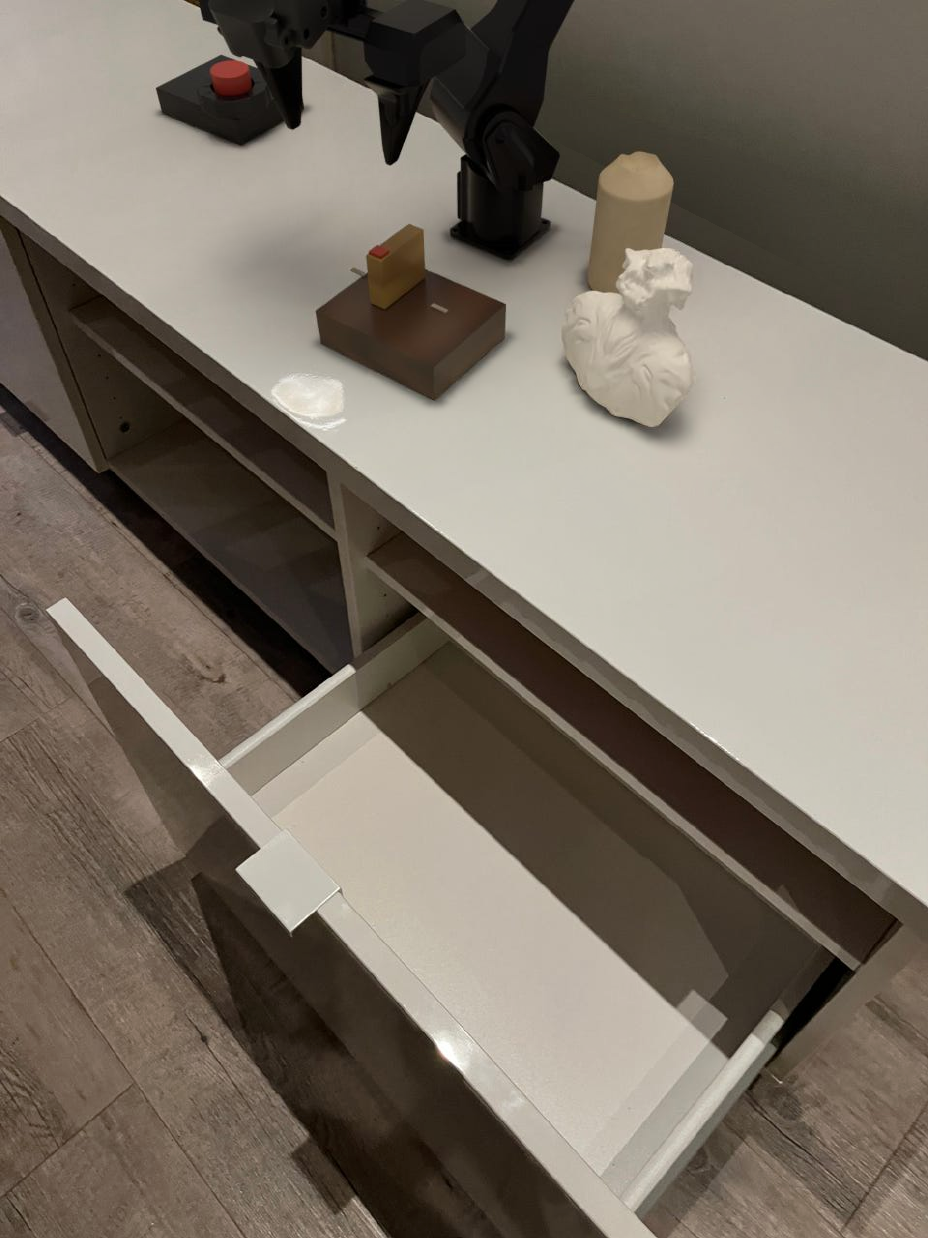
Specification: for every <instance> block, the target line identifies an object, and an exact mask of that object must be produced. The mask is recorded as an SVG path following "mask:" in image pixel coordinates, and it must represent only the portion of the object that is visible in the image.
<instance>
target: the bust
mask: <svg viewBox="0 0 928 1238" xmlns="http://www.w3.org/2000/svg"><path fill="white" fill-rule="evenodd" d="M625 254H626V260H625V262H624V263H623V265H622V268H623V269H626V270H625V272H624V273H622V274H621V275H620V276H619V277H618V280H617V282H616V287H617V289H618V290H619V293H620V294H621V295H622V296H621V295H620V294H617V293H611V292H609V293H602V292H598V291H593V290H588V291H585V292H583V293H580V294H579V295H576V296H575V297H574V298H573V300H572V302H571V306H570V307H569V308H568V309H567V311H566V314H565V323H564V324H563V326H562V329H561V341H562V344H563V352H564V357H565V358H566V359H567V361H568V362H569V364H570V366H571V368H572V369H573V370H574V372H575V373H576V379H577V382H578V384H579V386H580V388H581V389H582V390H583V391H585V392H586V393H587V394H588V396H589V397H590V398H591V399H593V401H595V402H596V404H598V405H600V406H602V407H604V408H605V409H606V410H608V412H609V413H610V414H611V415H612V416H614V417H619V418H625V419H630V420H633V421H634V422H636V423H638V424H641V425H643V426H646V427H649V428H655V427H658V426H659V425H661V423H662V422H663V421H664V420H665V419H666V418H667V417H668V415H670V414H671V413H672V411H673V410H674V409H675V408H676V407H677V406H678V404H679V403H681V402H682V401H683V400H685V399H686V398H687V397H688V395H689V394H690V392H691V390H692V387H693V385H694V384H695V382H696V379H697V378H696V372H695V371H694V369H693V363H692V355H691V353H690V351H689V350H688V348H687V346H686V344H685V342H684V341H683V339H682V338H681V337H679V334H678V332H677V326H676V324H675V323H674V322H673V321H672V319H671V318H670V317H669V315H670V309H671V306H674V307H675V308H676V309H678V310H679V311H683V309H684V308H685V304H686V301H687V299H688V297H689V296H691V295H692V293H693V282H694V264H693V263H692V262H691V261H690V260H689V259H688V258H686V256H685V255H684V254H681V252H680V250H679V249H678V250H676V249H675V248H670V247H662V248H660V249H654V250H641V251H634V250H632V249H630V248H627V249H626V250H625Z"/></svg>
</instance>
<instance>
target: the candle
mask: <svg viewBox="0 0 928 1238" xmlns="http://www.w3.org/2000/svg"><path fill="white" fill-rule="evenodd" d="M674 183H675V182H674V179H673V176H672V174H671V173H670V172H669V171H668V169H667V168H666V167H665V166H664V164H663V163H662V162H661V160H660V159H659V157H658V156H657V155H656V154H654V153H649V152H645V151H635V152H634V151H633V153H631V154H626V153H625V154H624V153H621V154H619V156H617V158H616V159H614V160H613V161H612V162H611V163H610V164H609V165H607V166H606V167H605V168H604V169H603V170H602V171H601V172H600V174H599V176H598V183H597V192H596V202H595V208H594V209H595V210H594V216H593V217H594V218H593V226H592V233H591V240H590V241H591V242H590V250H589V258H588V269H587V283H588V285H589V287H590V289H591V291H598V292H602V293H609V292H611V293H617V294H620V293H619V290H618V289H617V287H616V282H617V280H618V277H619V276H620V275H621V274H622V273H624V272H625V270H626V269H623V268H622V265H623V263H624V262H625V260H626V254H625V250H626V249H627V248H630V249H632V250H634V251H641V250H654V249H660V248H663V243H664V239H665V234H666V233H665V232H666V227H667V223H668V222H667V221H668V218H669V217H668V216H669V212H670V206H671V200H672V195H673V189H674V185H675V184H674ZM620 295H621V294H620ZM621 296H622V295H621Z"/></svg>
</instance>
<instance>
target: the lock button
mask: <svg viewBox="0 0 928 1238" xmlns="http://www.w3.org/2000/svg"><path fill="white" fill-rule="evenodd" d="M235 60H236V59H235ZM235 60H229V61H223V62H219V63H217V64H215V65H213V66H212V67H211V69H210V74H211V79H212V83H213V88H214V92H215V93H217V94H220V95H228V96H233V95H238V94H244V93H246V92H248V91H249V90H251V89H252V82H251V77H250V71H249V66H248V65H249V64H248V63H246V62H244V61H241V60H237V61H235ZM247 64H248V65H247Z"/></svg>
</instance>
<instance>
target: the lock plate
mask: <svg viewBox="0 0 928 1238" xmlns="http://www.w3.org/2000/svg"><path fill="white" fill-rule="evenodd" d="M350 272H352V273H354V274H356V275H358V276H360V277H359V278H357V279H356V280H355V281H353V282H352V283H350V284H349V285H348V286H346V287H345V288H344V289H342V290H341V291H339V293H337V294H336V295H334V296H333V297H332V298H330V299H328V301H326V302H325V303H323V304H322V305H320V307H318V308H317V309H316V310H315V317H316V322H317V329H318V335H319V341H320V345H322V346H324V347H327V348H328V349H331V350H332V351H333V352H336V353H338V354H341V355H342V356H344V357H347V358H349V359H351V360H352V361H354V362H357V363H358V364H361V365H362V366H364V367H367V368H369V369H370V370H373V371H375V372H377V373H378V374H381V375H382V376H384V377H386V378H389V379H391V380H393V381H394V382H396V383H398V384H400V385H403V386H405V387H407V388H409V389H411V390H413V391H414V392H416V393H418V394H421V395H423V396H425V397H427V398H429V399H431V400H433V401H435V400H437V398H438V397H440V396H441V395H442V394H443V393H444V392H446V390H448V389H449V388H450V387H452V385H453V384H454V383H455V382H456V381H458V380H459V379H460V378H461V377H462V376H464V375H465V374H466V373H467V372H468V371H469V370H470V369H471V368H473V366H475V365H476V364H477V363H478V362H479V361H480V360H481V359H482V358H483V357H484V356H486V355H487V354H488V353H489V352H490V351H491V350H492V349H494V347H496V346H497V345H498V344H500V342H502V340H504V339H505V337H506V318H507V304H506V303H505V302H502V301H500V300H497V299H496V298H493V297H491V296H489V295H486V294H484V293H481V292H479V291H477V290H475V289H472V288H470V287H468V286H465V285H463V284H461V283H459V282H456V281H455V280H452V279H451V278H450V279H449V278H447V277H446V276H443V275H440V274H438V273H437V272H433V271H431V270H429V269H427V268H425V278H424V279H423V280H422V281H421V282H419V283H418V284H417V285H415V286H414V287H413V288H412V289H410V290H409V291H408V292H406V293H405V294H404V295H403V296H401V297H400V298H399V299H398V300H396V301H395V302H394V303H392V304H391V305H390V306H389V307H387V308H386V309H382V308H380V307H378V306H376V305H374V304H372V303H371V302H370V291H369V281H368V271H366V272H365V271H363V270H361V269H358V268H357V267H355V266H354V267H351V268H350Z"/></svg>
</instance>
